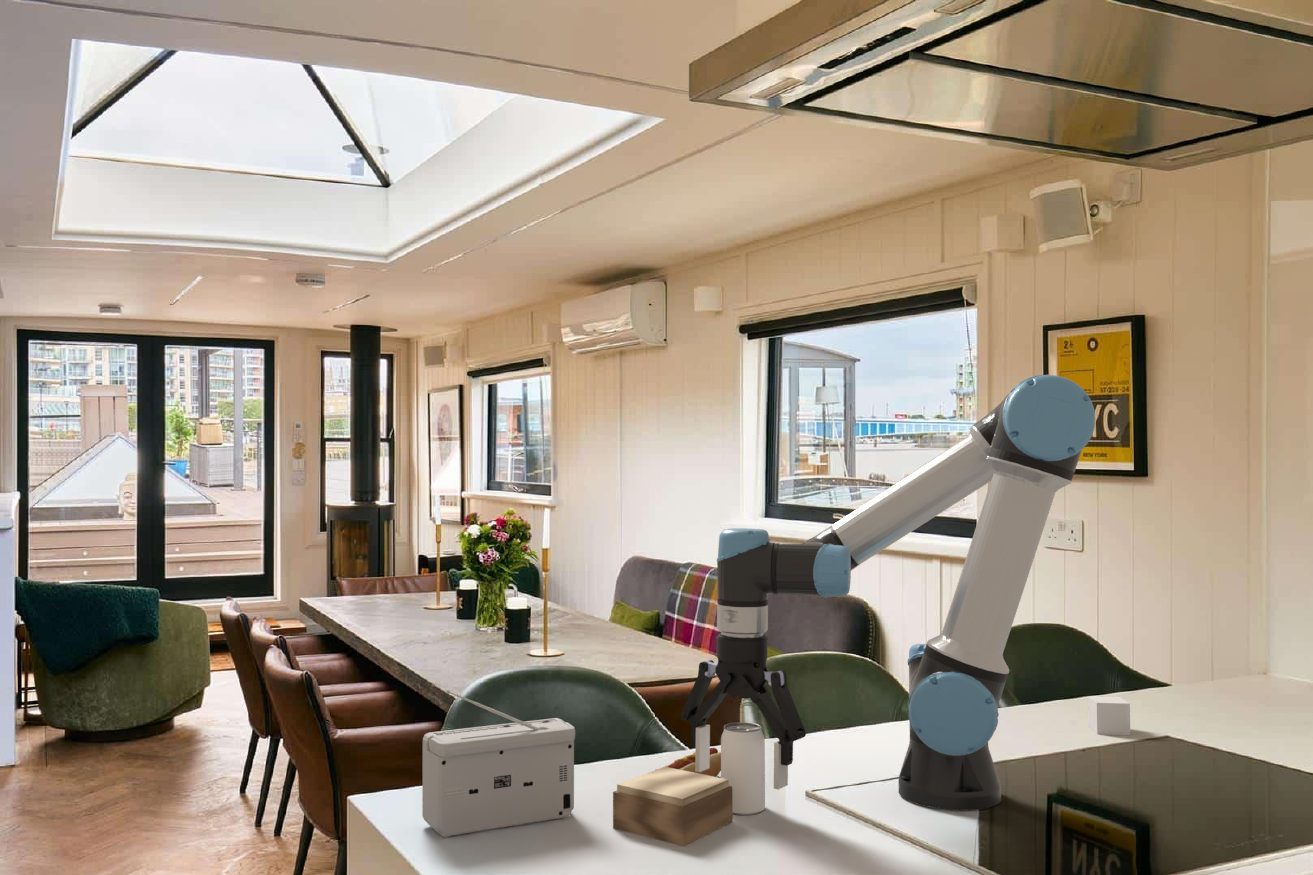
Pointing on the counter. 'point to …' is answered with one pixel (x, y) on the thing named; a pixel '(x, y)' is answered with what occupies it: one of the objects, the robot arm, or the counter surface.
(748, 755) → the can
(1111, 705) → the grey cube
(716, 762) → the food
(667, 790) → the pedestal
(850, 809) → the counter surface
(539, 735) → the stereo radio cassette player
